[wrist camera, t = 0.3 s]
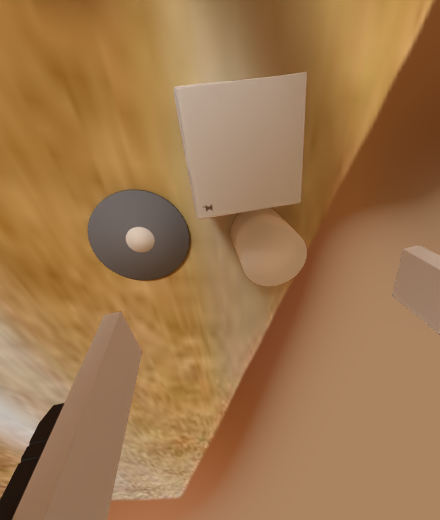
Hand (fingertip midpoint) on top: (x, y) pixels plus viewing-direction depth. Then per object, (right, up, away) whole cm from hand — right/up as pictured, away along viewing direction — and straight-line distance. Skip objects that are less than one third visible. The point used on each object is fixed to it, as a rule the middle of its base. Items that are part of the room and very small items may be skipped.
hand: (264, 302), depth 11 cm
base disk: (-14, +5, +24) cm, 28 cm away
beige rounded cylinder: (+3, +7, +25) cm, 26 cm away
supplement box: (-2, +17, +19) cm, 25 cm away
